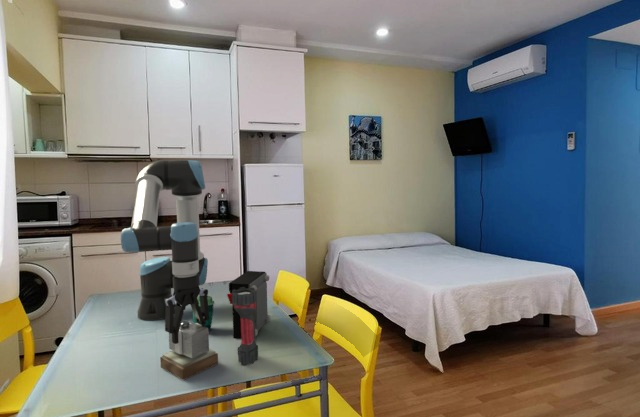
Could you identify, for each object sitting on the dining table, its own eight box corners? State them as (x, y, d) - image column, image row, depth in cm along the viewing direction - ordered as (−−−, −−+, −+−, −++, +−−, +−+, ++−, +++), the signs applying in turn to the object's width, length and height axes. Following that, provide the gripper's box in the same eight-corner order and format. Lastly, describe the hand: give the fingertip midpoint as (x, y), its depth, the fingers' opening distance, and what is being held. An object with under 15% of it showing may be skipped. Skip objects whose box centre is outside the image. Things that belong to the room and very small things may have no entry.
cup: (188, 332, 141) (186, 300, 140) (201, 324, 148) (200, 294, 147) (206, 335, 138) (205, 303, 137) (219, 326, 146) (218, 296, 145)
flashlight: (236, 370, 113) (234, 295, 111) (231, 359, 120) (229, 288, 118) (261, 365, 116) (260, 291, 114) (255, 354, 123) (253, 285, 121)
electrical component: (255, 340, 134) (253, 284, 132) (228, 337, 136) (226, 283, 134) (271, 321, 151) (270, 271, 149) (247, 319, 153) (246, 270, 151)
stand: (160, 367, 115) (160, 354, 115) (195, 352, 124) (195, 340, 124) (183, 380, 108) (182, 366, 107) (218, 363, 117) (217, 351, 117)
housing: (192, 358, 110) (191, 331, 109) (169, 348, 116) (168, 323, 116) (209, 350, 115) (208, 324, 114) (186, 341, 121) (185, 317, 120)
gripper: (162, 283, 104) (166, 364, 106) (220, 269, 119) (222, 340, 121) (148, 279, 108) (152, 356, 110) (205, 266, 123) (208, 334, 125)
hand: (189, 348), depth 116 cm, fingers closed on housing, 6 cm apart
